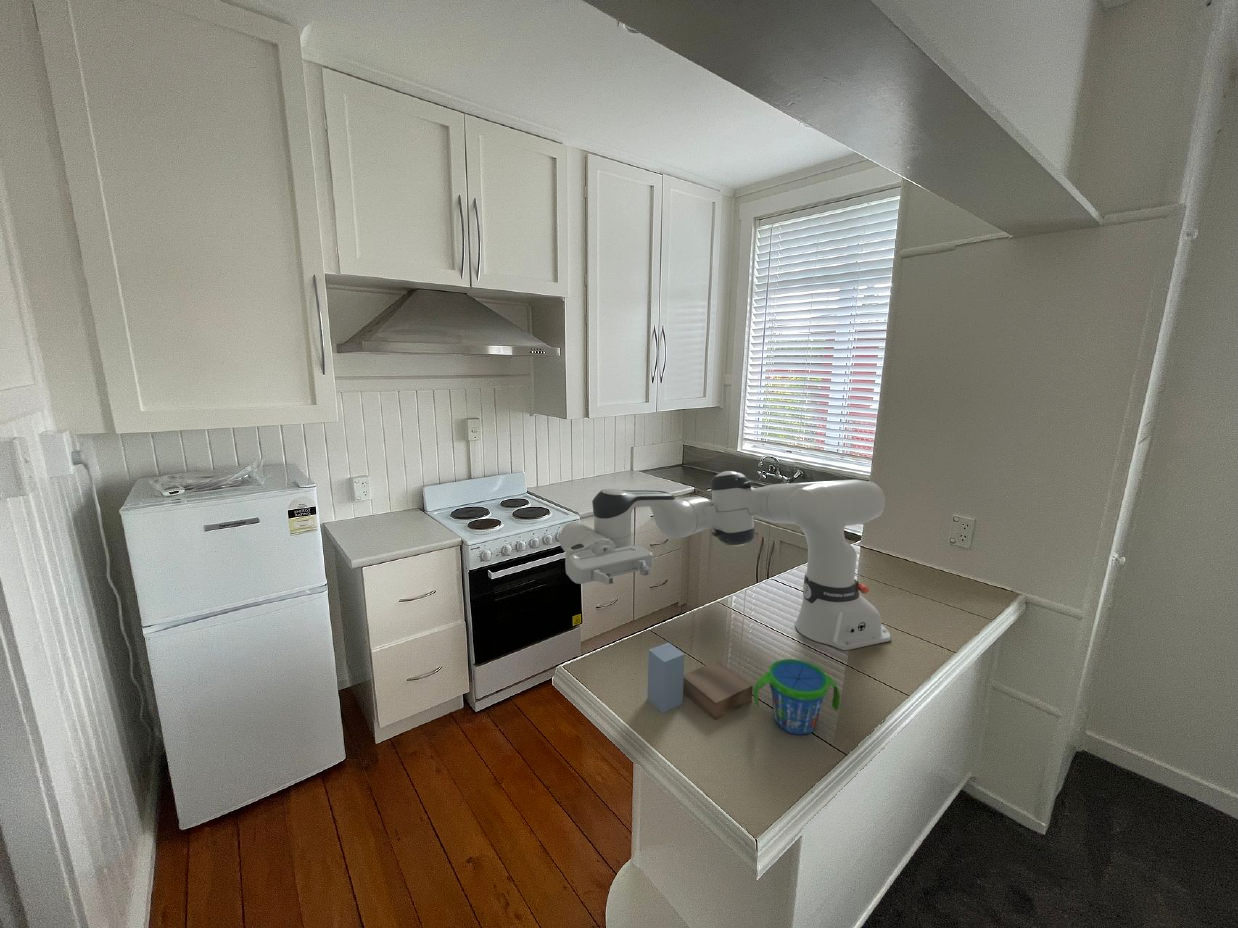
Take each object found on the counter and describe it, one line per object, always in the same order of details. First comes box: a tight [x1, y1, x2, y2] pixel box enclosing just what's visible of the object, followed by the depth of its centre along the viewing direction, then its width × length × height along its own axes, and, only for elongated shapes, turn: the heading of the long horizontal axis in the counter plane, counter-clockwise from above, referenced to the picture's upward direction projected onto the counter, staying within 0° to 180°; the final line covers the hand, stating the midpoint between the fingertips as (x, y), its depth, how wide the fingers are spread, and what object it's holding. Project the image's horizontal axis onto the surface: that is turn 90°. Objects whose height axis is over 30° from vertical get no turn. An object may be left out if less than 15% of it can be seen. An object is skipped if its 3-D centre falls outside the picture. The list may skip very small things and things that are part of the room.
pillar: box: [646, 642, 686, 714], centre depth 100 cm, size 5×5×11 cm
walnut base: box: [683, 660, 754, 721], centre depth 103 cm, size 10×10×4 cm
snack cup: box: [753, 658, 841, 735], centre depth 95 cm, size 16×10×10 cm
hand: (629, 576), depth 109 cm, fingers open, 8 cm apart
